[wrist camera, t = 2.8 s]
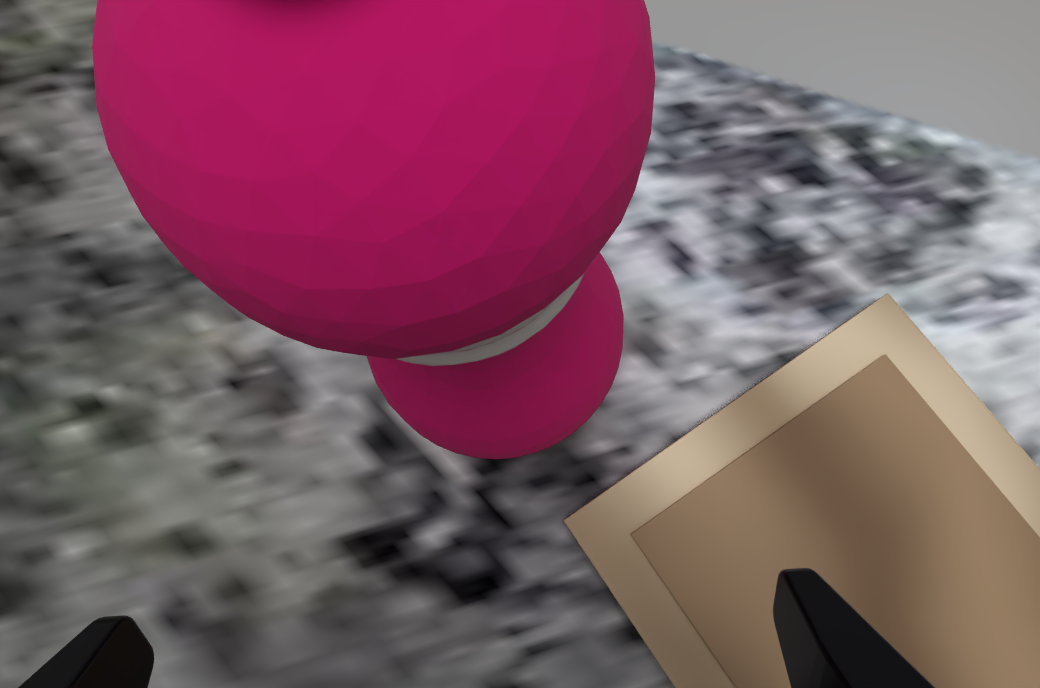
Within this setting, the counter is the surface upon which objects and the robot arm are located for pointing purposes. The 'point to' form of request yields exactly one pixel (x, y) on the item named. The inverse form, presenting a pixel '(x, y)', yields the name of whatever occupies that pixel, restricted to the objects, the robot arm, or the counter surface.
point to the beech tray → (834, 518)
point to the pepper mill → (398, 186)
